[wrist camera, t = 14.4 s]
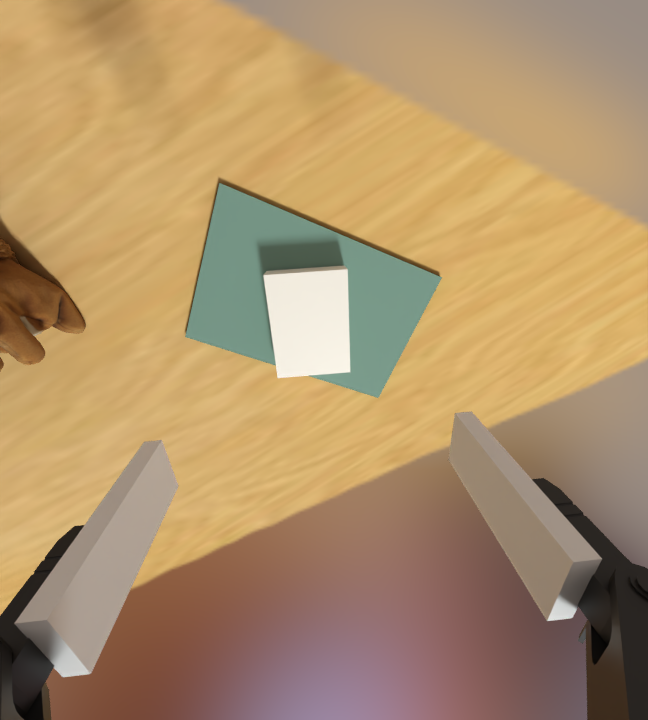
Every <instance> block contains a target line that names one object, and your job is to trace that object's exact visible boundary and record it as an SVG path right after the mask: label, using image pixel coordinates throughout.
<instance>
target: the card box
mask: <svg viewBox="0 0 648 720" xmlns="http://www.w3.org/2000/svg"><path fill="white" fill-rule="evenodd" d="M263 276H264V283H265V290H266V298H267V305H268V312H269V319H270V326H271V334H272V341H273V348H274V355H275V362H276V370H277V377H278V378H285V377H297V376H309V375H322V374H334V373H347V372H350V338H349V300H348V269H347V268H346V267H345V266H330V267H315V268H301V269H287V270H273V271H266V272H265V274H264V275H263Z"/></svg>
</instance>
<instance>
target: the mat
mask: <svg viewBox="0 0 648 720" xmlns="http://www.w3.org/2000/svg"><path fill="white" fill-rule="evenodd" d="M330 266H345V267H346V268H347V269H348V300H349V338H350V372H347V373H334V374H322V375H309V376H311V377H314V378H317V379H320V380H323V381H327V382H330V383H333V384H336V385H339V386H342V387H346V388H349V389H352V390H355V391H358V392H361V393H365V394H368V395H371V396H374V397H377V398H378V397H379V396H380V394H381V392H382V390H383V388H384V386H385V384H386V382H387V380H388V379H389V377H390V375H391V373H392V371H393V369H394V367H395V365H396V363H397V362H398V360H399V358H400V356H401V354H402V352H403V350H404V348H405V346H406V344H407V343H408V341H409V339H410V337H411V335H412V333H413V331H414V329H415V327H416V326H417V324H418V322H419V320H420V318H421V316H422V314H423V312H424V310H425V309H426V307H427V305H428V303H429V301H430V299H431V297H432V295H433V293H434V291H435V290H436V288H437V286H438V284H439V282H440V280H441V278H442V277H440V276H437V275H435V274H432V273H430V272H428V271H425V270H423V269H421V268H418V267H416V266H414V265H411V264H409V263H407V262H404V261H402V260H400V259H397V258H395V257H393V256H390V255H388V254H385V253H383V252H381V251H378V250H376V249H374V248H371V247H369V246H367V245H364V244H362V243H360V242H357V241H355V240H353V239H350V238H348V237H346V236H343V235H341V234H338V233H336V232H334V231H331V230H329V229H327V228H324V227H322V226H320V225H317V224H315V223H313V222H310V221H308V220H306V219H303V218H301V217H299V216H296V215H294V214H291V213H289V212H287V211H284V210H282V209H280V208H277V207H275V206H273V205H270V204H268V203H266V202H263V201H261V200H259V199H256V198H254V197H252V196H249V195H247V194H244V193H242V192H240V191H237V190H235V189H233V188H230V187H228V186H226V185H223V184H221V183H219V187H218V192H217V196H216V201H215V205H214V210H213V214H212V219H211V223H210V228H209V232H208V237H207V241H206V246H205V250H204V255H203V259H202V264H201V268H200V273H199V278H198V282H197V287H196V291H195V296H194V300H193V305H192V309H191V314H190V318H189V323H188V327H187V332H186V336H185V337H187V338H190V339H194V340H197V341H200V342H203V343H206V344H209V345H213V346H216V347H219V348H222V349H225V350H228V351H232V352H235V353H238V354H241V355H244V356H247V357H251V358H254V359H257V360H260V361H263V362H266V363H270V364H273V365H276V362H275V355H274V348H273V341H272V334H271V326H270V319H269V312H268V305H267V298H266V290H265V283H264V276H263V275H264V274H265V272H266V271H273V270H287V269H301V268H315V267H330Z"/></svg>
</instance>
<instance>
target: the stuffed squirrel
mask: <svg viewBox="0 0 648 720" xmlns="http://www.w3.org/2000/svg"><path fill="white" fill-rule="evenodd" d="M15 255H16V254H15V252H13V251H11V248H10V245H9V244H6V243H5V242H4V240H2V239H1V238H0V353H9V354H10V355H12V356H13V357H14V358H15V359H16V360H17V361H19V362H21V363H23V364H26V365H31V364H36V363H39V362H40V361H41V360H42V359H43V358H44V356H45V350H44V348H43V347H42V345H41V344H40V342H39V341H38V340H37V339H36V338H35V337H34V336H36V335H38V334H40V333H41V332H43V331H44V330H46V329H48V328H50V327H51V326H53V327H55V328H57V329H59V330H61V331H64V332H68V333H76V334H79V333H82V332H83V331H84V329H85V327H86V326H85V323H84V321H83V319H82V316H81V315H80V313H79V312H78V310H77V309H76V307H75V306H74V304H73V303H72V301H71V300H70V298H69V297H68V295H67V294H66V293H65V292H64V291H63V290H62V289H61V288H60V287H58V286H57V285H55V284H53V283H52V282H50V281H48V280H47V279H45V278H43V277H41V276H39V275H37V274H36V273H34V272H32V271H30V270H28V269H26V268H24V267H23V266H21V265H19V262H18V260H17V259H16V256H15ZM3 365H4V363H3V361H2V359H1V358H0V371H1V369H2V368H3Z"/></svg>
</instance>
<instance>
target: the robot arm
mask: <svg viewBox="0 0 648 720" xmlns="http://www.w3.org/2000/svg"><path fill="white" fill-rule="evenodd" d="M449 461H450V463H451V465H452V466H453V468H454V470H455V471H456V473H457V475H458V476H459V478H460V479H461V481H462V483H463V484H464V486H465V488H466V489H467V491H468V493H469V494H470V496H471V497H472V499H473V501H474V502H475V504H476V506H477V507H478V509H479V511H480V512H481V514H482V515H483V517H484V519H485V520H486V522H487V524H488V525H489V527H490V529H491V530H492V532H493V533H494V535H495V537H496V538H497V540H498V542H499V543H500V545H501V547H502V548H503V550H504V552H505V553H506V554H507V556H508V558H509V560H510V561H511V563H512V565H513V566H514V568H515V569H516V571H517V573H518V574H519V576H520V577H521V579H522V581H523V582H524V584H525V586H526V587H527V589H528V591H529V592H530V594H531V596H532V597H533V599H534V601H535V602H536V604H537V605H538V607H539V609H540V610H541V612H542V614H543V615H544V617H545V618H546V620H547V621H551V620H560V619H569V618H573V615H574V614H575V612H576V609H577V608H578V606H579V608H580V609H581V611H582V612H583V613H584V615H585V616H586V618H587V619H588V620H587V622H586V624H585V626H584V627H583V629H582V631H581V633H580V635H579V639H578V641H579V642H581V643H583V642H584V640H585V639H586V670H587V720H648V569H647V568H645V567H642V566H639V565H635V564H632V563H631V562H630V561H629V560H628V559H627V558H626V557H625V556H624V555H623V554H622V553H621V552H620V551H619V550H618V549H617V548H616V547H615V546H614V545H613V544H612V543H611V542H610V540H609V539H608V538H607V537H606V536H604V534H603V533H602V532H601V531H600V530H599V529H598V528H597V527H596V526H595V525H594V524H593V523H592V522H591V521H590V520H589V519H588V518H587V517H586V516H584V515H583V512H582V511H581V510H580V509H579V508H578V507H577V506H576V505H573V502H572V501H571V500H570V499H569V498H568V497H567V496H566V495H565V494H564V493H563V492H562V491H561V490H560V489H559V488H558V487H556V486H555V485H553V484H552V483H550V482H549V481H547V480H545V479H544V478H541V479H531V478H530V477H529V476H528V475H527V474H526V472H525V471H524V470H523V469H522V468H521V467H520V466H519V465H518V464H517V462H516V461H515V460H514V459H513V458H512V457H511V456H510V454H509V453H508V452H507V451H506V450H505V449H504V448H503V447H502V445H501V444H500V443H499V442H498V441H497V440H496V439H495V438H494V436H492V435H491V433H490V432H489V431H488V430H487V429H486V427H485V426H484V425H483V424H482V423H481V422H480V421H479V419H478V418H477V417H476V416H475V415H474V414H473V413H472V412H462V413H455V416H454V424H453V431H452V438H451V445H450V453H449ZM177 488H178V483H177V481H176V478H175V475H174V472H173V470H172V467H171V464H170V461H169V459H168V456H167V453H166V450H165V447H164V445H163V442H162V440H159V441H148V442H144V443H143V444H142V446H141V447H140V448H139V450H138V451H137V453H136V454H135V455H134V457H133V458H132V460H131V461H130V462H129V464H128V465H127V467H126V468H125V469H124V471H123V472H122V474H121V475H120V476H119V478H118V479H117V481H116V482H115V483H114V485H113V486H112V488H111V489H110V490H109V492H108V493H107V495H106V496H105V497H104V499H103V500H102V502H101V503H100V504H99V506H98V507H97V509H96V510H95V511H94V513H93V514H92V516H91V517H90V518H89V520H88V521H87V523H86V524H85V525H81V526H74V527H73V528H72V529H71V530H70V531H68V532H67V533H66V534H65V535H64V536H63V537H62V538H60V539H59V540H58V541H57V542H56V544H55V545H54V546H53V548H52V549H51V550H50V552H49V553H48V554H47V555H46V557H45V560H44V561H42V562H41V563H40V565H39V566H38V567H37V569H36V570H35V571H34V574H33V575H31V576H30V578H29V579H28V580H27V582H26V583H25V584H24V586H23V587H22V588H21V589H20V591H19V592H18V593H17V595H16V596H15V597H14V599H13V600H12V601H11V603H10V604H9V605H8V606H7V608H6V609H5V610H4V612H3V613H2V614H1V616H0V720H51V710H50V698H49V689H48V687H47V685H46V683H45V682H46V680H47V678H48V676H49V674H50V673H51V671H52V669H53V667H54V668H55V669H56V670H57V671H58V672H59V674H60V675H61V676H62V677H69V676H77V675H86V674H91V672H92V670H93V668H94V666H95V664H96V662H97V660H98V657H99V655H100V653H101V651H102V649H103V647H104V644H105V642H106V640H107V638H108V636H109V634H110V632H111V629H112V627H113V625H114V623H115V621H116V619H117V616H118V615H119V612H120V610H121V608H122V606H123V604H124V602H125V599H126V597H127V595H128V593H129V591H130V589H131V587H132V585H133V582H134V580H135V578H136V576H137V574H138V572H139V570H140V567H141V565H142V563H143V561H144V559H145V557H146V555H147V552H148V550H149V548H150V546H151V544H152V542H153V540H154V537H155V535H156V533H157V531H158V529H159V527H160V525H161V522H162V520H163V518H164V516H165V514H166V512H167V510H168V507H169V505H170V503H171V501H172V499H173V497H174V495H175V492H176V490H177Z"/></svg>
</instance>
